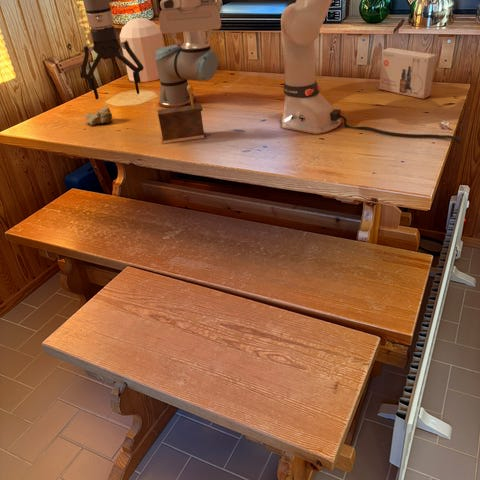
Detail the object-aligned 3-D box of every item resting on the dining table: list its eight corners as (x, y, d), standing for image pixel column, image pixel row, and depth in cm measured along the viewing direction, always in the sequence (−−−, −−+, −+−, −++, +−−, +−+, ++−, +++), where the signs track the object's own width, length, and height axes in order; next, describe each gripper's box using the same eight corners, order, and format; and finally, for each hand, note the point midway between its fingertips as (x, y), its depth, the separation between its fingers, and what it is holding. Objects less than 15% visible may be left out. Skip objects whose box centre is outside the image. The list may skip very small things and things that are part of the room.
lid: (201, 106, 166) (198, 83, 161) (202, 110, 162) (199, 87, 157) (158, 112, 164) (153, 88, 160) (158, 117, 160) (154, 93, 156)
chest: (203, 132, 171) (199, 106, 166) (204, 137, 167) (201, 111, 162) (163, 138, 170) (158, 112, 164) (163, 143, 166) (158, 117, 160)
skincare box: (377, 89, 194) (381, 50, 185) (385, 86, 197) (389, 47, 188) (423, 99, 180) (429, 56, 171) (430, 95, 183) (437, 53, 174)
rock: (87, 123, 194) (86, 127, 185) (83, 107, 191) (82, 111, 182) (113, 119, 196) (113, 123, 187) (110, 103, 193) (110, 107, 184)
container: (160, 81, 233) (149, 21, 217) (121, 82, 238) (108, 23, 222) (174, 69, 249) (165, 13, 233) (138, 70, 254) (126, 15, 238)
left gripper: (59, 34, 138) (78, 103, 150) (142, 24, 141) (155, 93, 153) (62, 29, 144) (81, 97, 156) (142, 20, 147) (154, 87, 159)
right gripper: (219, -5, 150) (223, 40, 158) (157, 1, 150) (163, 46, 158) (220, -2, 145) (224, 44, 153) (155, 3, 145) (162, 50, 153)
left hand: (117, 95), depth 155 cm, fingers open, 13 cm apart
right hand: (193, 45), depth 155 cm, fingers open, 8 cm apart
